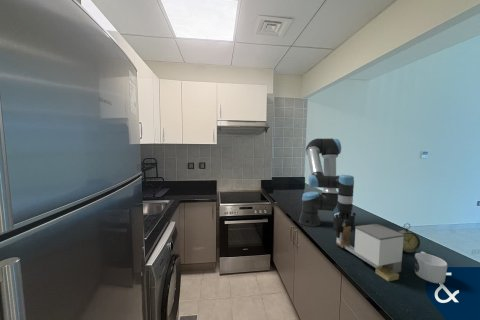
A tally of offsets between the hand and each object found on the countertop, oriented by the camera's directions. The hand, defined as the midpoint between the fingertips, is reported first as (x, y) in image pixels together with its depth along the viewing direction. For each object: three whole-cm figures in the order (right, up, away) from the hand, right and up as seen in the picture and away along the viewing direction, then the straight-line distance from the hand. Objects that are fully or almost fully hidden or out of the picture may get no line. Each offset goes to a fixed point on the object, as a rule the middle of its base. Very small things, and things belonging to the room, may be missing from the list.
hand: (343, 242), depth 113 cm
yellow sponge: (+7, -5, -24) cm, 26 cm away
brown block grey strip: (+3, -2, -9) cm, 10 cm away
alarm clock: (+33, -4, -3) cm, 33 cm away
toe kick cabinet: (+7, -4, -17) cm, 19 cm away
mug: (+27, -5, -23) cm, 36 cm away
